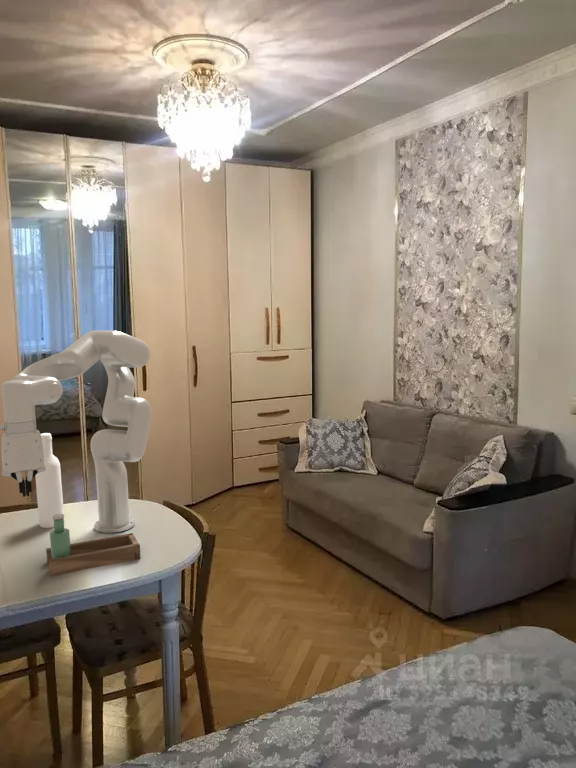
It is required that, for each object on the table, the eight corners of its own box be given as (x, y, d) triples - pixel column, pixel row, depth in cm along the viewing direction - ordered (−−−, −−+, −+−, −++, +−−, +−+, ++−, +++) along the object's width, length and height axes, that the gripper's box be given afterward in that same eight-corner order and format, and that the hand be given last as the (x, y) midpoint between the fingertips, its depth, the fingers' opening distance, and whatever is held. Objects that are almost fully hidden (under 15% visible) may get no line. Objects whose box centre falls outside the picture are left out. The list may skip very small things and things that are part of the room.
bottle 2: (51, 564, 176) (47, 514, 174) (70, 561, 178) (66, 511, 176) (53, 571, 171) (49, 520, 169) (72, 568, 173) (69, 516, 171)
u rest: (47, 561, 178) (46, 548, 177) (133, 545, 188) (132, 533, 187) (50, 576, 169) (49, 561, 168) (140, 558, 179) (139, 545, 178)
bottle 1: (56, 517, 213) (50, 430, 208) (69, 522, 208) (63, 433, 203) (34, 524, 207) (26, 434, 202) (47, 530, 202) (39, 438, 197)
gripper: (-11, 433, 159) (-5, 503, 162) (52, 426, 165) (57, 494, 168) (-11, 427, 166) (-6, 495, 168) (49, 421, 172) (54, 487, 175)
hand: (25, 494), depth 168 cm, fingers closed
